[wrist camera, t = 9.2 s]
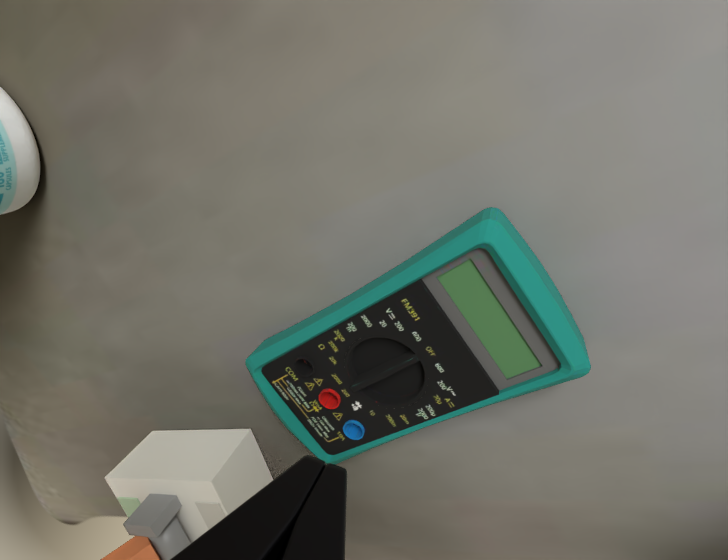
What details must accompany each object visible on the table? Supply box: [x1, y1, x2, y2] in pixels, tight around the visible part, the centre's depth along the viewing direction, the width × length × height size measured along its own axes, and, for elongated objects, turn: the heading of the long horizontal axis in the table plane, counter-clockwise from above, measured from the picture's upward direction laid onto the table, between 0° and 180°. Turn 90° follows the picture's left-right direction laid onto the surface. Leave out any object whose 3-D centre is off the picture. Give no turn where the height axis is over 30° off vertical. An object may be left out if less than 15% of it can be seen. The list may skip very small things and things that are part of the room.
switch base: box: [105, 429, 273, 543], centre depth 27 cm, size 8×9×6 cm
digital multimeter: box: [246, 207, 591, 465], centre depth 20 cm, size 7×15×3 cm, turn 127°
